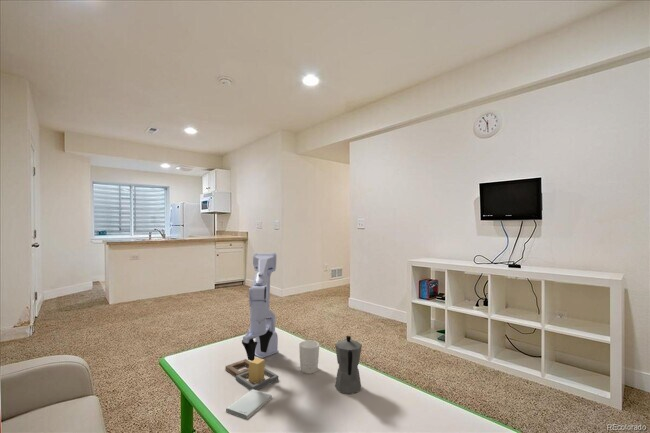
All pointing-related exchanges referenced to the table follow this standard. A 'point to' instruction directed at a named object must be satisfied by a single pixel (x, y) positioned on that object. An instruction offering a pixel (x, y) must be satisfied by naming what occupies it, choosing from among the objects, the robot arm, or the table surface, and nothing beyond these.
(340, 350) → the coffeepot
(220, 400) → the table surface
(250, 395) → the hard drive
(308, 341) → the white cup
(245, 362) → the socket block
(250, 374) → the peg
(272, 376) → the gray square frame
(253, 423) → the table surface
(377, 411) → the table surface
